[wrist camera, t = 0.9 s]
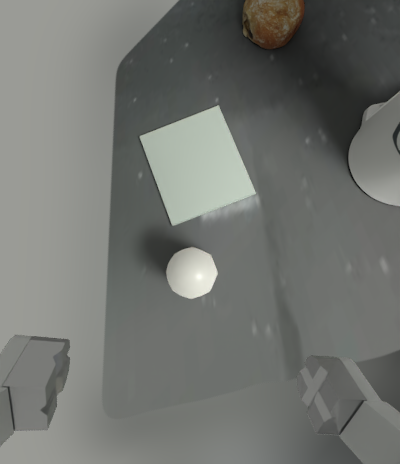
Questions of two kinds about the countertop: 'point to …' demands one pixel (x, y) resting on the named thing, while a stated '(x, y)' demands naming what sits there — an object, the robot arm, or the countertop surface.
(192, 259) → the domed hexagonal post
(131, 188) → the countertop surface
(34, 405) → the robot arm
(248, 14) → the bread roll
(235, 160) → the mat
